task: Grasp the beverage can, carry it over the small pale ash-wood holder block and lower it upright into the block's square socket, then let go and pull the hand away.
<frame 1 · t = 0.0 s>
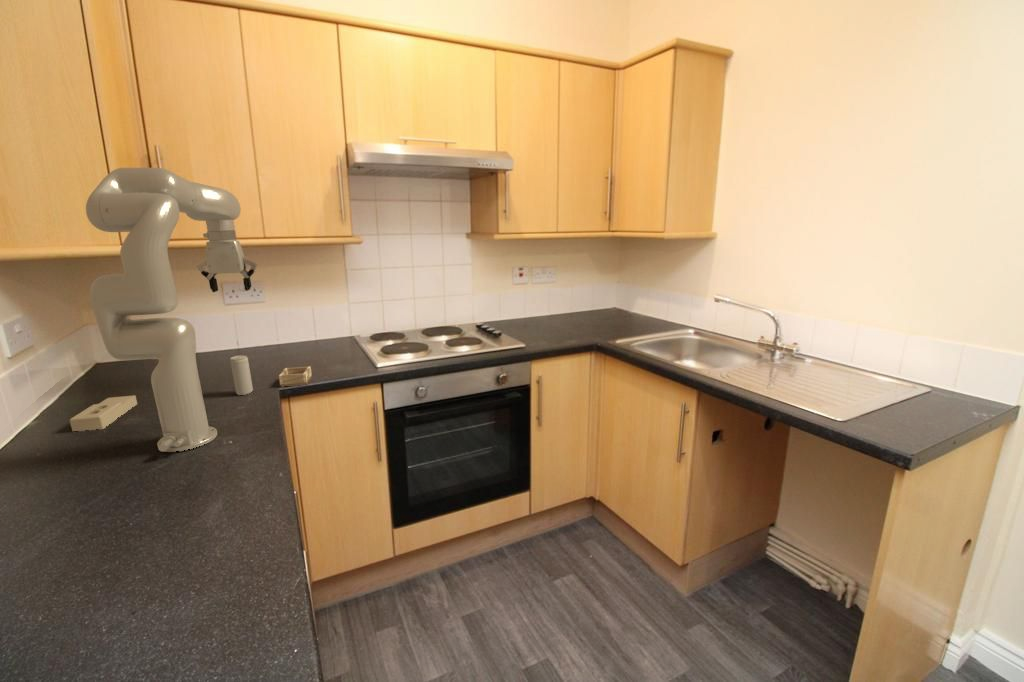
hand: (231, 290, 156), 31 cm above the countertop, tool pointing down, fingers open, 9 cm apart
can holder block: (296, 382, 162), on the countertop
electrical outlet: (107, 418, 137), on the countertop
beverage can: (245, 393, 153), on the countertop
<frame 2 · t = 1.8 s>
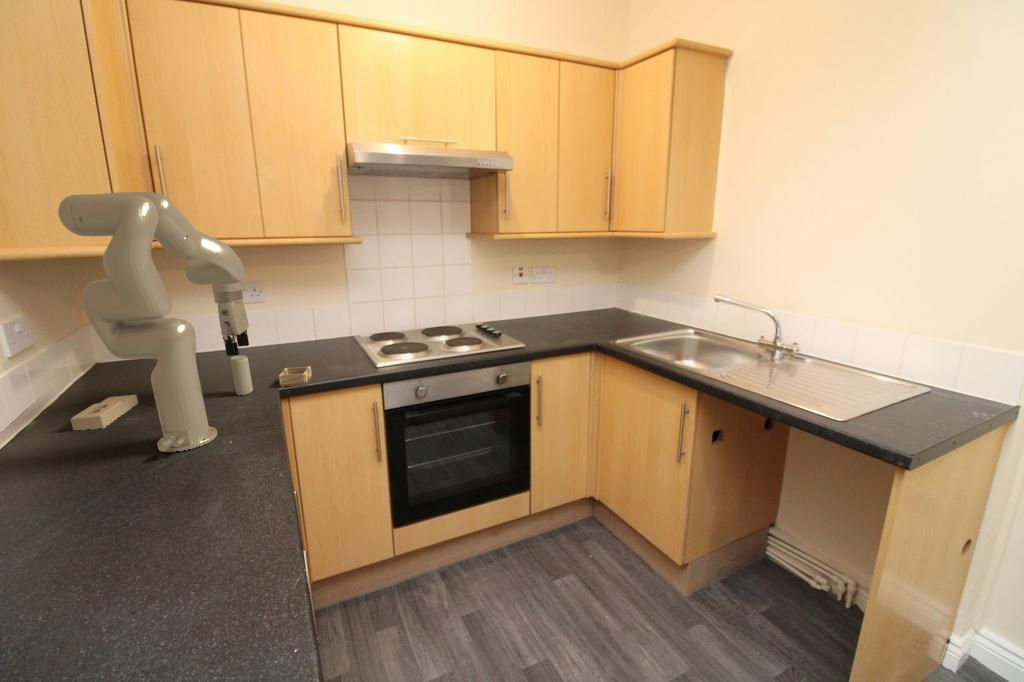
hand: (238, 350, 150), 14 cm above the countertop, tool pointing down, fingers open, 9 cm apart
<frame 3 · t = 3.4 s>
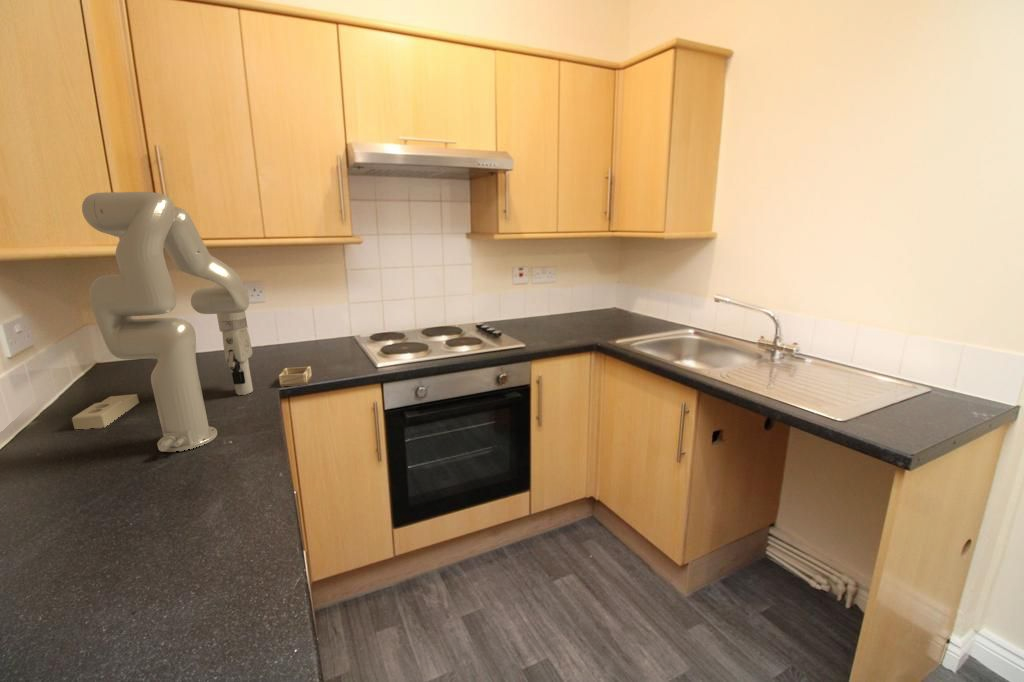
hand: (242, 380, 152), 4 cm above the countertop, tool pointing down, fingers closed on beverage can, 4 cm apart
beverage can: (245, 393, 153), on the countertop, touching gripper
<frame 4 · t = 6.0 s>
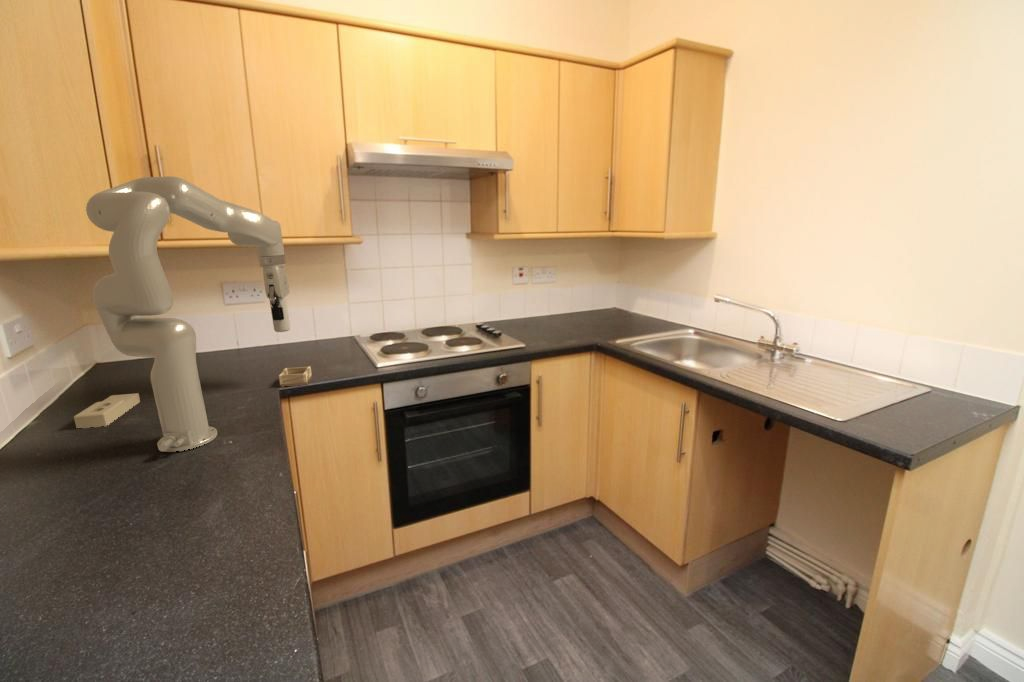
hand: (280, 317, 155), 23 cm above the countertop, tool pointing down, fingers closed on beverage can, 4 cm apart
beverage can: (282, 331, 157), point 18 cm above the countertop, touching gripper
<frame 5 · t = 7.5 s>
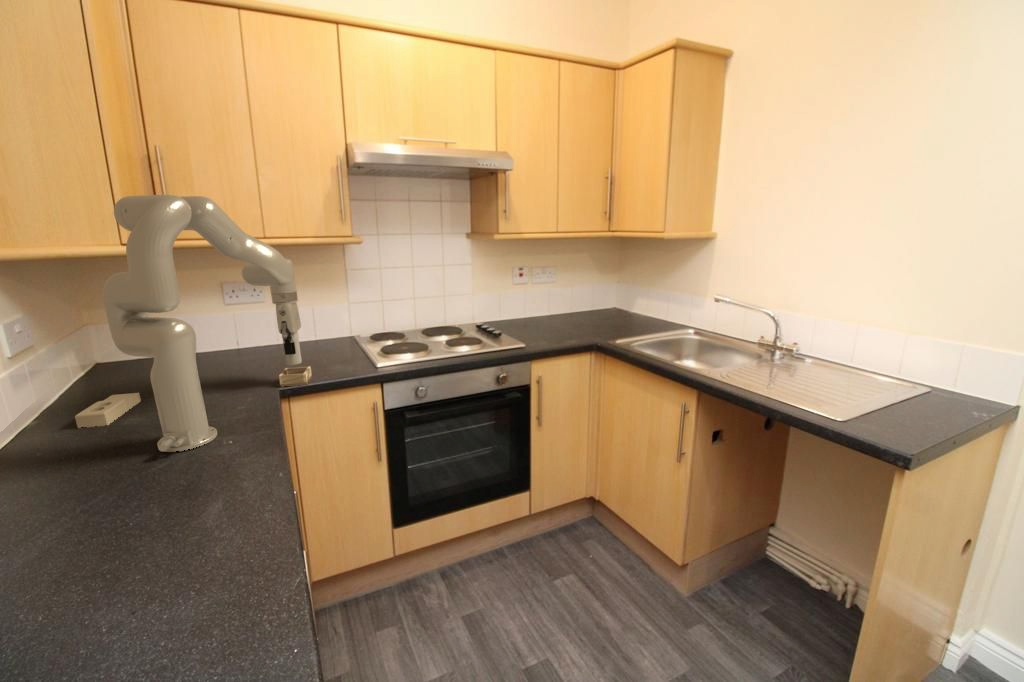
hand: (292, 351, 160), 11 cm above the countertop, tool pointing down, fingers closed on beverage can, 4 cm apart
beverage can: (294, 364, 161), point 6 cm above the countertop, touching gripper
when the fingers open (6 cm above the countertop, at t = 8.8 s): beverage can stays where it is, resting on can holder block.
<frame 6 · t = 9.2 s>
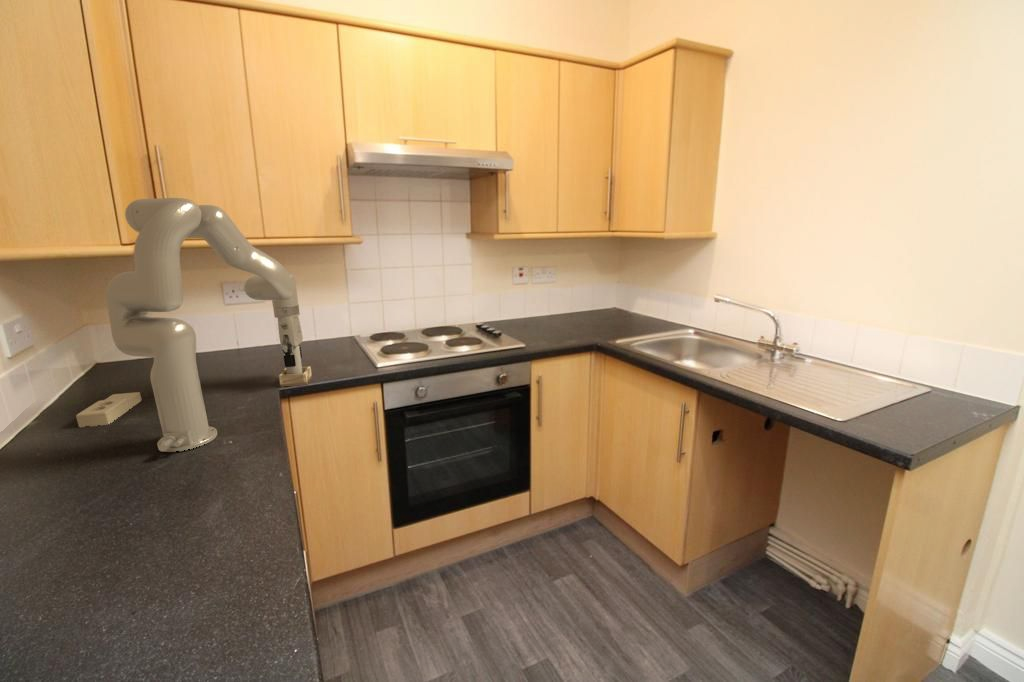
hand: (293, 362, 161), 7 cm above the countertop, tool pointing down, fingers open, 8 cm apart
beverage can: (295, 380, 162), point 1 cm above the countertop, touching can holder block
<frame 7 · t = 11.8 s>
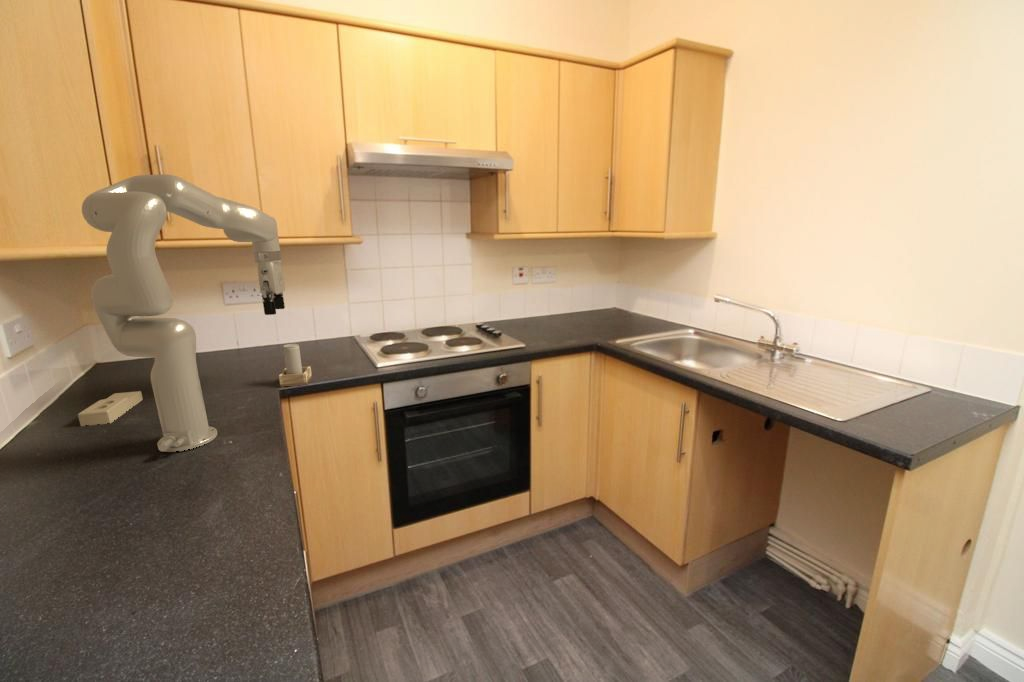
hand: (275, 311, 154), 25 cm above the countertop, tool pointing down, fingers open, 9 cm apart
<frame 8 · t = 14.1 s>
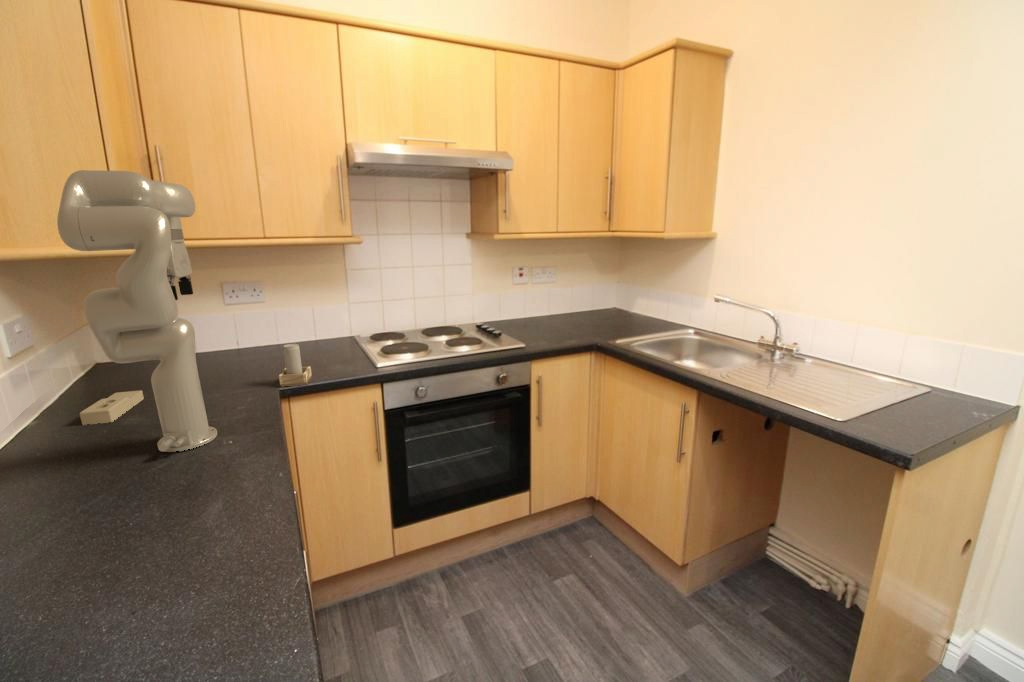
hand: (179, 297, 138), 32 cm above the countertop, tool pointing down, fingers open, 9 cm apart
at the end: beverage can 0.3 cm off-centre on the can holder block, point 0.8 cm above the can holder block's base; beverage can tilted 0°; the gripper is holding nothing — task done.
